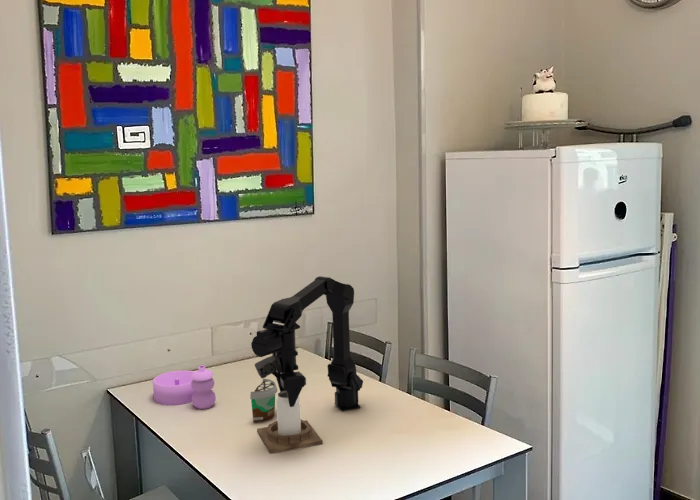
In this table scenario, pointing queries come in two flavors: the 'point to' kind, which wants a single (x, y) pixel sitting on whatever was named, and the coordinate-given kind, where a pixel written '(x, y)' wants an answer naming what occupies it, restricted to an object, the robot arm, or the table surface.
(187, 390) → the container set
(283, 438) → the brown ring stand base
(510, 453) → the table surface
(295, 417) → the can
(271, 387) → the food container
